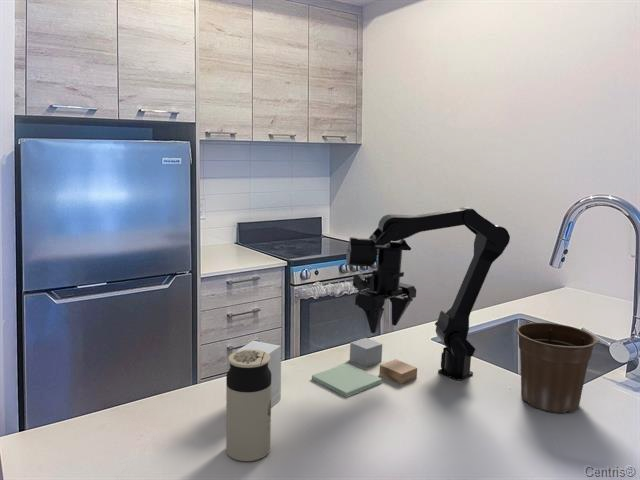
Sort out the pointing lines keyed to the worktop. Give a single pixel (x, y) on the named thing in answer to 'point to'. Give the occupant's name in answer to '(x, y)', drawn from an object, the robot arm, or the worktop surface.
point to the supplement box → (270, 366)
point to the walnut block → (398, 371)
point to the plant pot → (553, 365)
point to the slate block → (366, 352)
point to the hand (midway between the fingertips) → (383, 328)
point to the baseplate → (346, 379)
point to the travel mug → (248, 405)
